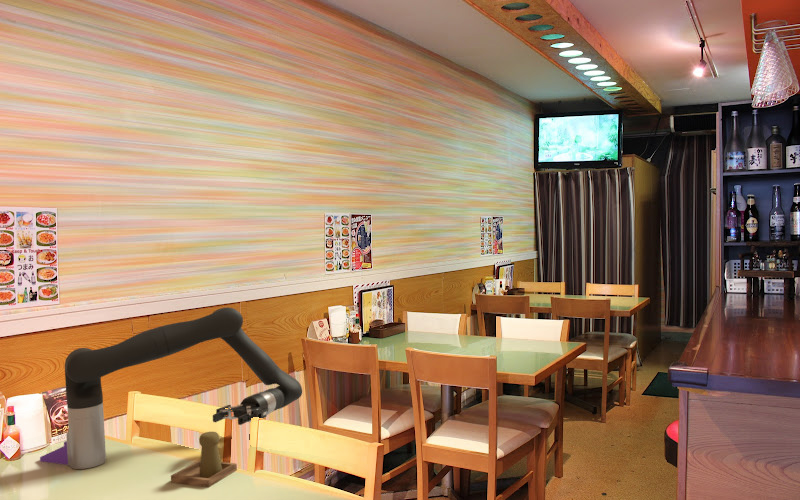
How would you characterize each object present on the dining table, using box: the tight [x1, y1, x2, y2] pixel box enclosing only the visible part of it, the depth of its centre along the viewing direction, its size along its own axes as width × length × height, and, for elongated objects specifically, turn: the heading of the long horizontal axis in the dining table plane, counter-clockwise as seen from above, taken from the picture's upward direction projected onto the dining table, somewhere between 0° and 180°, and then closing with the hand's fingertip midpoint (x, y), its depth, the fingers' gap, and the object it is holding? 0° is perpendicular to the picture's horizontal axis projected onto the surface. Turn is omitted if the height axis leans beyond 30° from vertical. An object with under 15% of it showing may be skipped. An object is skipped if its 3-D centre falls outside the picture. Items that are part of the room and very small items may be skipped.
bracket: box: [39, 440, 68, 466], centre depth 186 cm, size 12×7×7 cm, turn 69°
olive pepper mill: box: [198, 431, 222, 478], centre depth 168 cm, size 6×6×11 cm
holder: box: [170, 459, 238, 488], centre depth 168 cm, size 12×12×2 cm
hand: (226, 420), depth 178 cm, fingers open, 8 cm apart
